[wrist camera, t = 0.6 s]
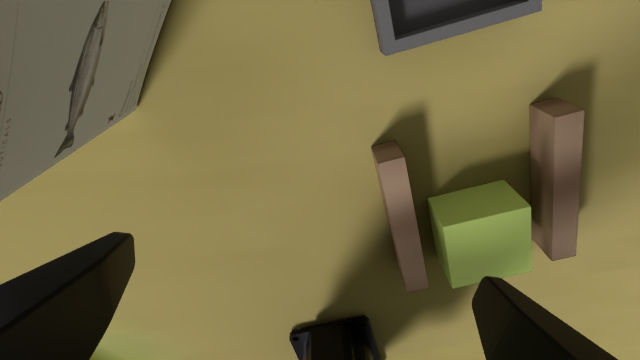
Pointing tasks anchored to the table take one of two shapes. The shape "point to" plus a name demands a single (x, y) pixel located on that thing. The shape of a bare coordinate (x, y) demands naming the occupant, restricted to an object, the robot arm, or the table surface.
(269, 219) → the table surface
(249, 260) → the table surface
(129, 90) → the supplement box
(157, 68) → the table surface
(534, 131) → the lane rails
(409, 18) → the trap pit
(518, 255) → the lime block
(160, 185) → the table surface
